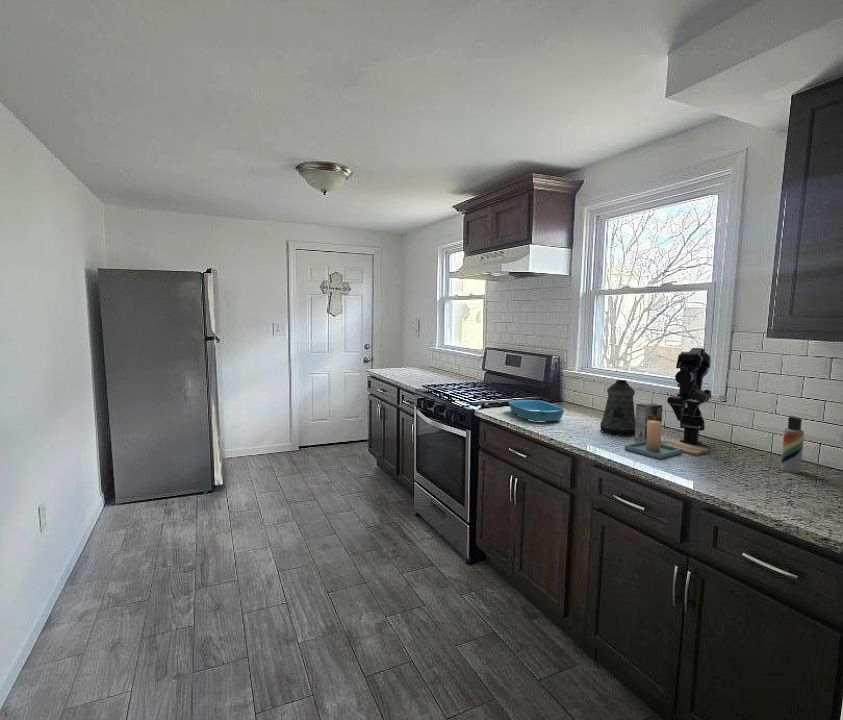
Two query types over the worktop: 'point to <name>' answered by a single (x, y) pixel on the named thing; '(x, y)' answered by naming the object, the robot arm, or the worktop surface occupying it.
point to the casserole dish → (546, 409)
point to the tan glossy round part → (653, 436)
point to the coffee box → (646, 418)
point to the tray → (664, 452)
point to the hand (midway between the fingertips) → (685, 419)
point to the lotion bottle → (792, 446)
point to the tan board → (687, 447)
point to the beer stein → (619, 410)
